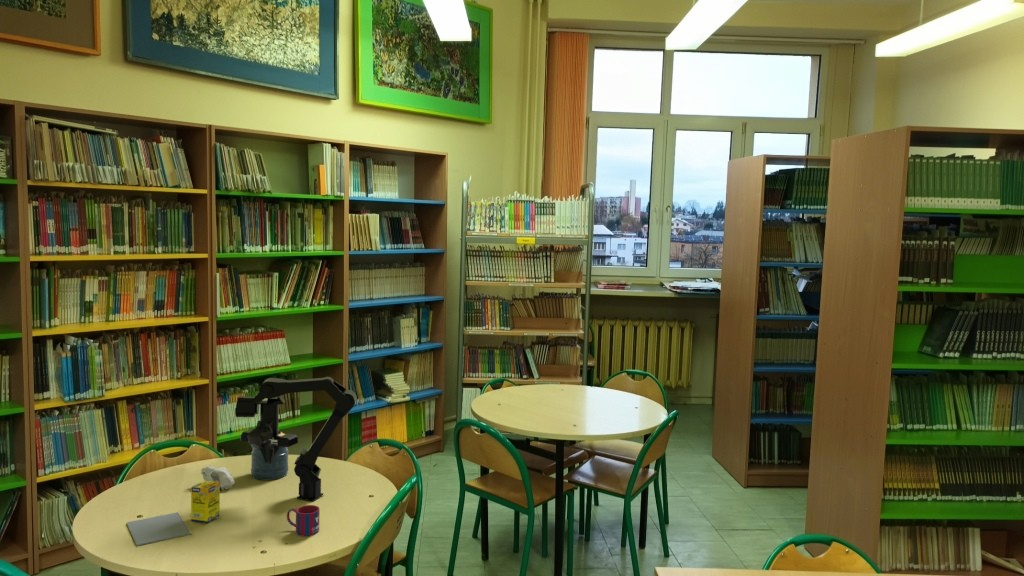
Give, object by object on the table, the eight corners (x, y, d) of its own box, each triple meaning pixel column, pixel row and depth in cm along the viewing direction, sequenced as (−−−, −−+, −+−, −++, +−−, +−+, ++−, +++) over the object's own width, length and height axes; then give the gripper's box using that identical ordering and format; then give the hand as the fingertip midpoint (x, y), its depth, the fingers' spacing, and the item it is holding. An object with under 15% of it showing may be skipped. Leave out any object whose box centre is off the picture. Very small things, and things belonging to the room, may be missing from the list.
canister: (279, 466, 257) (279, 420, 256) (294, 475, 247) (295, 428, 246) (245, 473, 248) (245, 426, 247) (259, 483, 238) (259, 434, 237)
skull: (226, 486, 227) (204, 459, 229) (213, 502, 230) (192, 475, 232) (243, 477, 235) (221, 451, 237) (230, 492, 238) (209, 467, 240)
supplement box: (207, 524, 204) (208, 488, 203) (190, 521, 205) (190, 486, 204) (220, 516, 210) (220, 482, 209) (203, 514, 211) (203, 480, 210)
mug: (310, 538, 197) (310, 515, 196) (281, 532, 200) (281, 509, 200) (323, 529, 203) (324, 507, 203) (295, 523, 206) (296, 501, 206)
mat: (177, 513, 211) (177, 512, 211) (191, 534, 197) (191, 533, 197) (126, 523, 202) (126, 522, 202) (136, 546, 188) (136, 544, 188)
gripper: (229, 419, 219) (228, 466, 220) (278, 426, 213) (277, 474, 214) (252, 411, 229) (251, 456, 230) (299, 417, 224) (298, 463, 225)
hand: (268, 463), depth 224 cm, fingers closed
